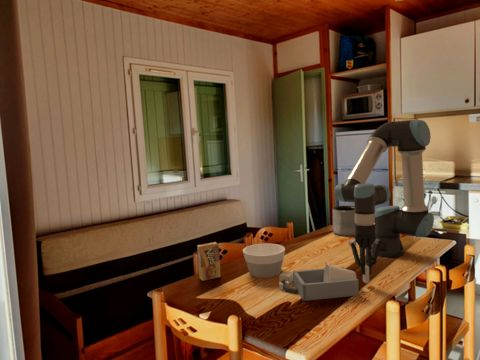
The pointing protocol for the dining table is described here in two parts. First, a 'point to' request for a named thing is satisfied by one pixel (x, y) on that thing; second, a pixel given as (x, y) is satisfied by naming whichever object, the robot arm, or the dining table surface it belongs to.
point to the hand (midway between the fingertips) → (366, 282)
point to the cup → (337, 274)
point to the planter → (344, 220)
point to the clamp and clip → (287, 277)
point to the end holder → (322, 285)
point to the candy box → (208, 261)
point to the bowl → (264, 259)
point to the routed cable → (289, 288)
